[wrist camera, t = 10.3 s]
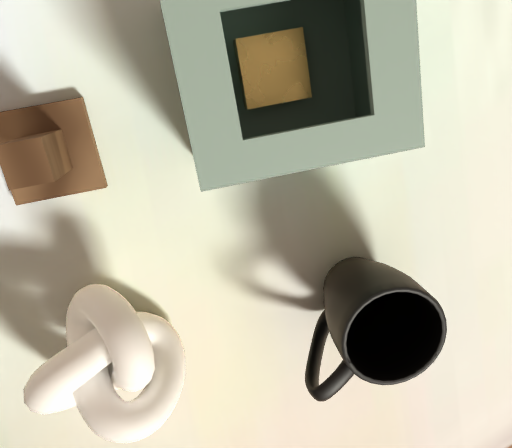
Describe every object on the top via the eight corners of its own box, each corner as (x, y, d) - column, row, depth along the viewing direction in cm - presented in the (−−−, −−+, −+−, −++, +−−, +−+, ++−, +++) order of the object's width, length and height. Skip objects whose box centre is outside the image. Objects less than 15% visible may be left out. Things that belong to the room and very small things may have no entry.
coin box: (197, 161, 38) (200, 191, 28) (164, 2, 34) (152, -32, 24) (362, 129, 39) (424, 146, 29) (346, -28, 36) (411, -74, 25)
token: (244, 108, 37) (247, 109, 35) (233, 41, 35) (235, 38, 33) (305, 96, 37) (312, 97, 35) (296, 29, 36) (302, 26, 34)
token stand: (19, 202, 37) (-12, 224, 32) (-11, 114, 35) (-50, 120, 29) (107, 185, 38) (93, 204, 32) (82, 97, 36) (62, 100, 30)
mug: (260, 312, 43) (279, 373, 34) (359, 225, 42) (406, 264, 33) (316, 365, 45) (347, 435, 36) (411, 284, 44) (468, 336, 35)
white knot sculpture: (38, 269, 39) (-4, 321, 31) (183, 264, 41) (182, 312, 32) (53, 385, 42) (18, 462, 34) (187, 376, 44) (186, 447, 35)
